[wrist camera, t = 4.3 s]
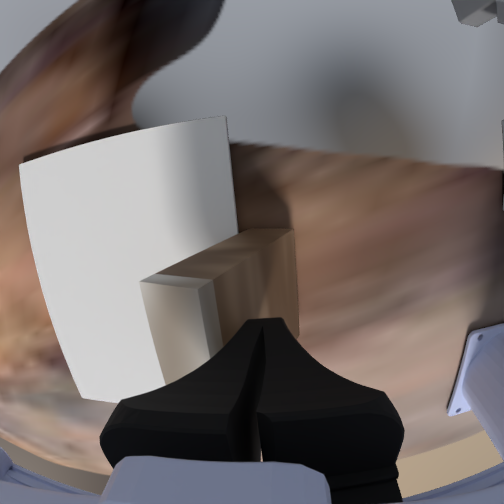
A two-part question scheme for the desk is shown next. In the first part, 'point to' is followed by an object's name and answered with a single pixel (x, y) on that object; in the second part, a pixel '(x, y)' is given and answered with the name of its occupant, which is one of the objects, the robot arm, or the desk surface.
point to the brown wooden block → (220, 297)
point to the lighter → (478, 11)
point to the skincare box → (503, 149)
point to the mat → (123, 240)
